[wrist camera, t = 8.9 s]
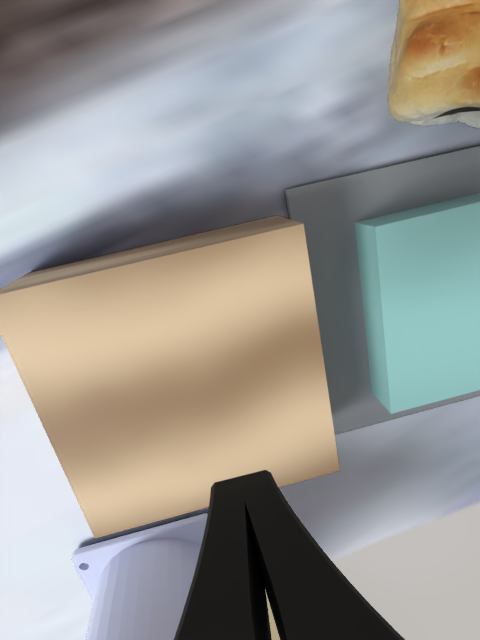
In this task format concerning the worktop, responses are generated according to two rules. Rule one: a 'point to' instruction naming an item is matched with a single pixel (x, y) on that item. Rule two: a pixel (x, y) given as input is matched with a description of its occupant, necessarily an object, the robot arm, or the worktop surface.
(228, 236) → the tan wooden block
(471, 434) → the worktop surface
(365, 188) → the mat
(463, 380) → the teal rectangular block
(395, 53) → the pastry
